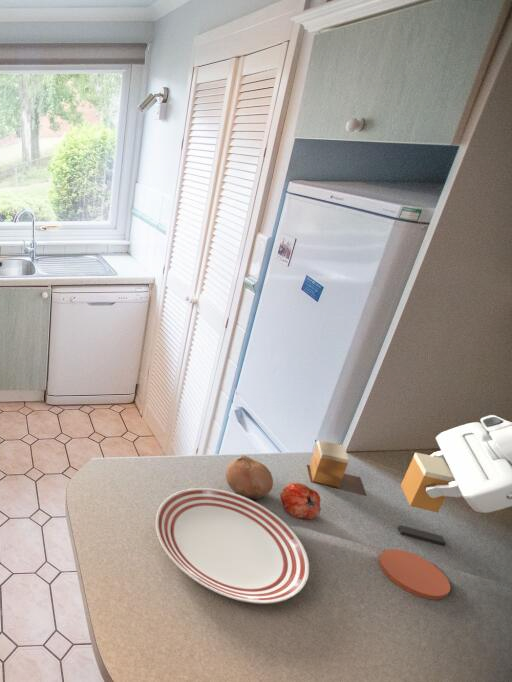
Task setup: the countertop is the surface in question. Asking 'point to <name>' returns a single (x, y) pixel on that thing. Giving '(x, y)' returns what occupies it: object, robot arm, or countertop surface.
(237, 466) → the onion
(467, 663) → the countertop surface
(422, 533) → the dark grey bar
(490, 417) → the robot arm
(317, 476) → the loaf cake
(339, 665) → the countertop surface
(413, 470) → the cake slice
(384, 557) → the coaster
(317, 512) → the pomegranate
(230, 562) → the dinner plate
